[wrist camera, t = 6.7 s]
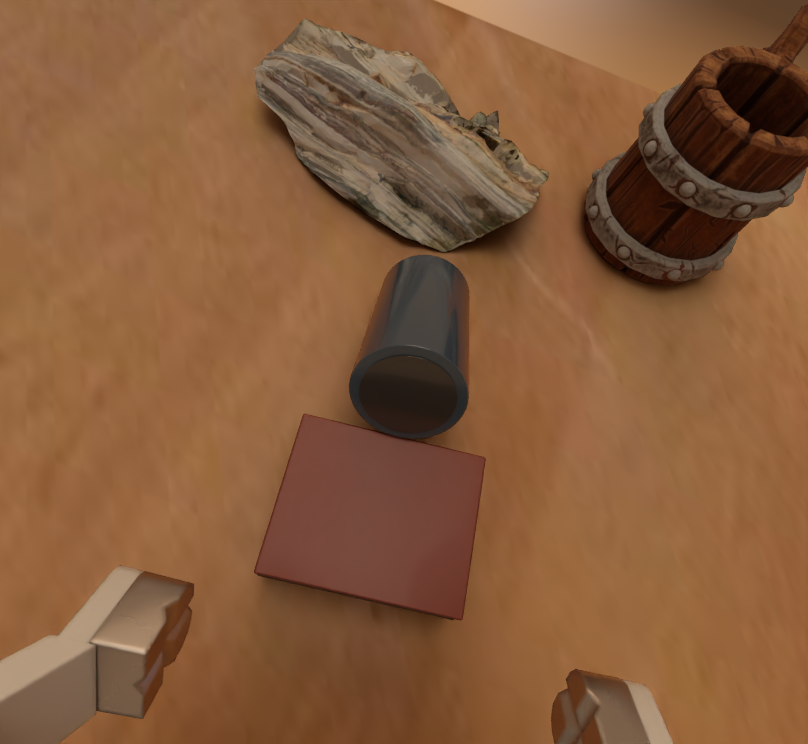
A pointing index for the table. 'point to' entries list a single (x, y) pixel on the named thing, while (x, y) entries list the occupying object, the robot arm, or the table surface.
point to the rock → (395, 138)
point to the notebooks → (375, 518)
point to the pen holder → (415, 351)
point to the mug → (705, 163)
